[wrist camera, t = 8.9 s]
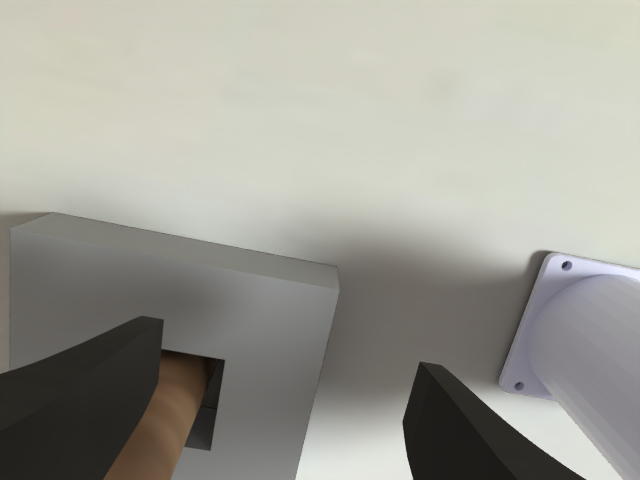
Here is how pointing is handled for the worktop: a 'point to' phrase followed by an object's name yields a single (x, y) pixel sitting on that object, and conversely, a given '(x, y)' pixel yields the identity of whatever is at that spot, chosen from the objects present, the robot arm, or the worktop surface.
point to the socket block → (186, 327)
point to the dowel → (165, 419)
